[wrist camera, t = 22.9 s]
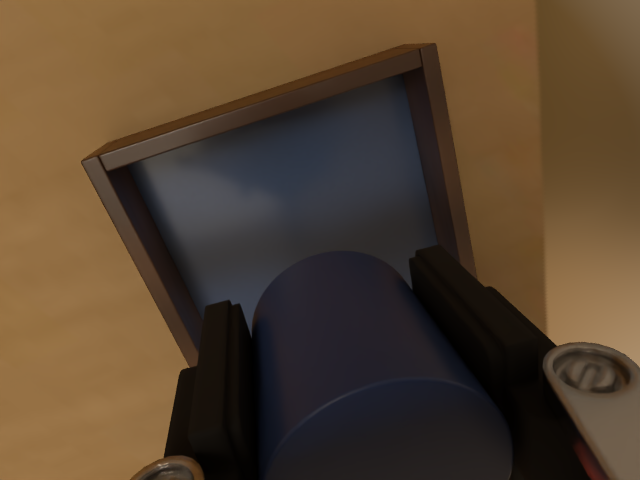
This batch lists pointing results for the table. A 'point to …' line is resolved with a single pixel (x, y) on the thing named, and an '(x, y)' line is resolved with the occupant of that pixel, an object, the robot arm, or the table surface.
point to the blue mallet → (365, 382)
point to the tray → (287, 185)
